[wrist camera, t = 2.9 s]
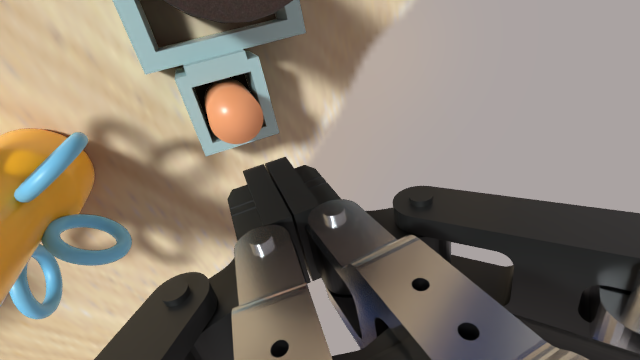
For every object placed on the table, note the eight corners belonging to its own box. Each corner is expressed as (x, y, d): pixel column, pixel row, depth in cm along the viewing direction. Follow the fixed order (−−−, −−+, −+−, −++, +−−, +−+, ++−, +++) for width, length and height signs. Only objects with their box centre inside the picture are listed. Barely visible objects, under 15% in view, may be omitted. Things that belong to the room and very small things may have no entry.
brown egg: (197, 85, 22) (200, 100, 18) (242, 72, 23) (254, 85, 19) (213, 128, 24) (219, 150, 20) (255, 115, 24) (269, 135, 20)
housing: (64, -131, 18) (36, -165, 14) (252, -156, 20) (267, -191, 16) (182, 143, 25) (182, 164, 22) (309, 104, 27) (327, 117, 24)
